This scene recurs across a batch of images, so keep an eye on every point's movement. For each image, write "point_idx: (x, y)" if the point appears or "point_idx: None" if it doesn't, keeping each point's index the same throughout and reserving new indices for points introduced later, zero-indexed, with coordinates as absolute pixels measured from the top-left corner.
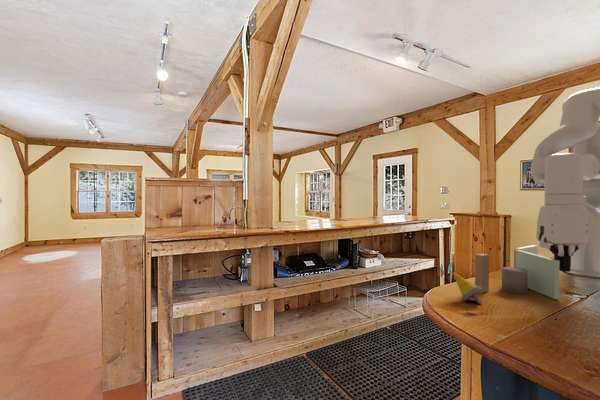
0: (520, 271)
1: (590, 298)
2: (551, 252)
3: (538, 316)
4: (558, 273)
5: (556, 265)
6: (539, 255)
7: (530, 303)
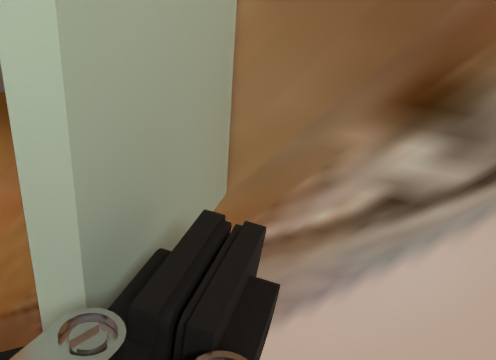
0: None
1: (448, 217)
2: (63, 316)
3: (3, 298)
4: None
5: None
6: (63, 106)
7: None
